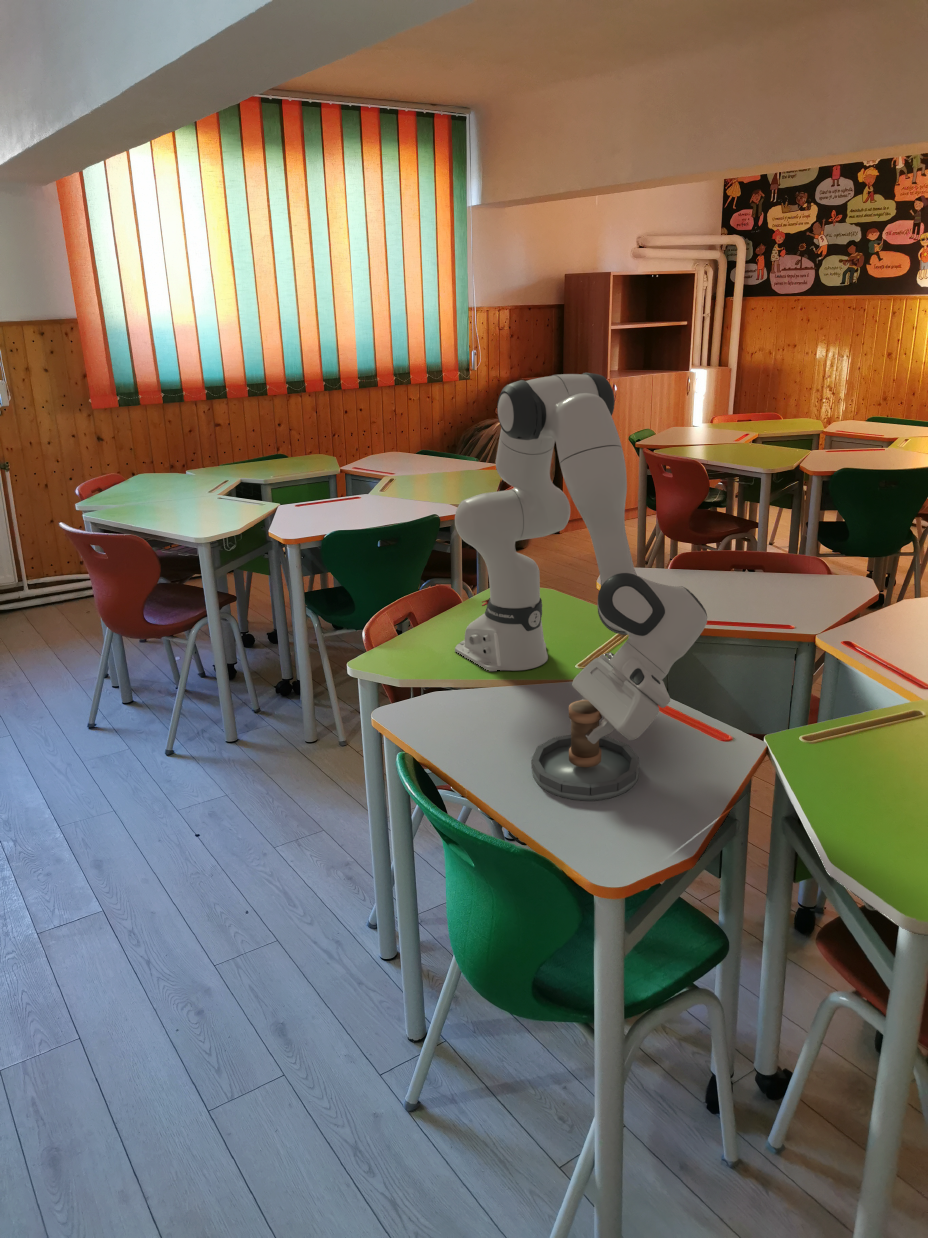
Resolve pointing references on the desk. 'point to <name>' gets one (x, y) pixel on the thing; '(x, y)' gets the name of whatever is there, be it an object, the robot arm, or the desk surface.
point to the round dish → (585, 770)
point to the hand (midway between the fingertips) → (581, 732)
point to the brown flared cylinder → (583, 734)
